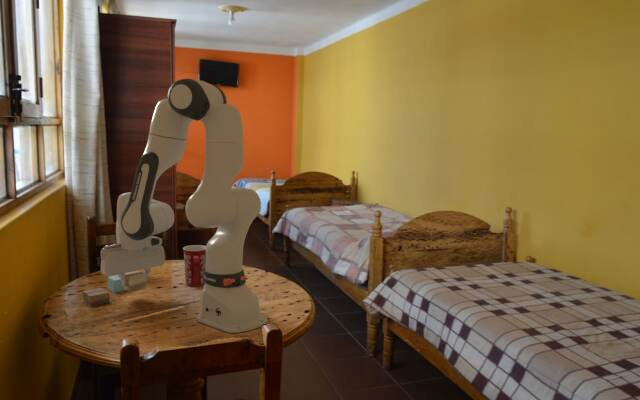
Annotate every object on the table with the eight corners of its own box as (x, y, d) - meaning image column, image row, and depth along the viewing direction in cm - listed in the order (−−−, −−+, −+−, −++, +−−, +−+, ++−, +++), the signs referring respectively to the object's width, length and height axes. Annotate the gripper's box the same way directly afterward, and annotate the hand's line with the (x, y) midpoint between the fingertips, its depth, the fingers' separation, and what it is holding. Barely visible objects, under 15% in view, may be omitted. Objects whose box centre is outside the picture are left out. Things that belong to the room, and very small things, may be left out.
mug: (183, 280, 186) (183, 244, 184) (208, 279, 189) (208, 244, 187) (182, 291, 174) (182, 253, 172) (208, 290, 176) (209, 253, 174)
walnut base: (109, 301, 160) (109, 292, 159) (90, 305, 156) (89, 296, 155) (102, 296, 164) (101, 287, 163) (83, 300, 160) (82, 291, 159)
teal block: (128, 291, 172) (128, 277, 171) (114, 294, 168) (113, 280, 168) (122, 288, 175) (122, 274, 175) (108, 291, 172) (107, 276, 171)
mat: (119, 304, 159) (119, 302, 159) (87, 311, 152) (87, 309, 152) (104, 294, 168) (104, 292, 167) (73, 301, 161) (73, 299, 160)
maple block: (146, 288, 162) (145, 273, 161) (131, 292, 158) (130, 276, 157) (138, 285, 165) (138, 270, 164) (124, 288, 162) (123, 273, 161)
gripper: (104, 248, 150) (106, 292, 152) (166, 238, 165) (168, 279, 166) (95, 245, 154) (98, 288, 156) (157, 236, 169) (158, 275, 171)
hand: (134, 283), depth 161 cm, fingers closed on maple block, 5 cm apart
